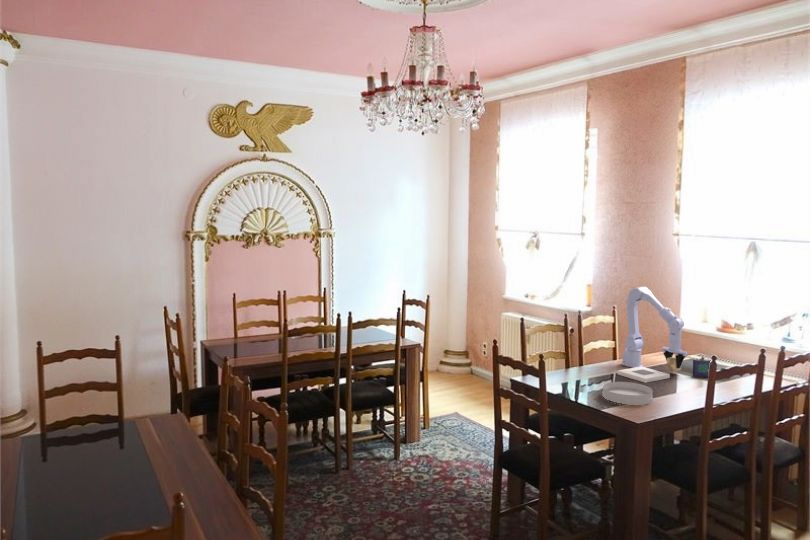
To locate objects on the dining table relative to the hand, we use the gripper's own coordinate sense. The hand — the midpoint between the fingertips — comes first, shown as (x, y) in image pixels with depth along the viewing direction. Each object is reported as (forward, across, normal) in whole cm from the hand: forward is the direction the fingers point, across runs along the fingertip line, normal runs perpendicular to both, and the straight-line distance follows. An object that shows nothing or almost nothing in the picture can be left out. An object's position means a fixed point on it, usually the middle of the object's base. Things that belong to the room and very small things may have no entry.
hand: (673, 366), depth 336 cm
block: (+2, 0, 0) cm, 2 cm away
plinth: (+4, -5, -17) cm, 18 cm away
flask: (+4, +10, +9) cm, 14 cm away
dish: (+4, +18, -54) cm, 57 cm away
